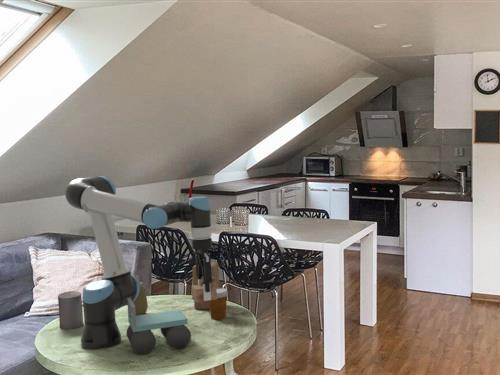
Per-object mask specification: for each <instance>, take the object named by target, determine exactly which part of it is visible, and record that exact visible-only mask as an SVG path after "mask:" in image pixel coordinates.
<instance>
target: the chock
mask: <svg viewBox="0 0 500 375" xmlns="http://www.w3.org/2000/svg"><path fill="white" fill-rule="evenodd" d="M201 280H202V282H203V277H201ZM210 288H211V300H217V291H216V278H214V277H213V276H212V282H211V283H210ZM191 298H192V300H193V302H194V301H195V302H203V301H204V298H203V284H201V285H193V284H192V285H191ZM207 301H210V300H207Z"/></svg>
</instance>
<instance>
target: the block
mask: <svg viewBox="0 0 500 375" xmlns="http://www.w3.org/2000/svg"><path fill="white" fill-rule="evenodd" d="M219 270H220V269H219V263H218V262H217V261H211V274H212V276H213V277H214V278H216V288H220V275H219V274H220V272H219ZM192 283H193V284H192V286H193V285H198V278H197V276H196V264H195V265H193V266H192ZM193 308H194V310H195V309H196V310H209V304H208V301H203V302H195V301H194V300H193Z"/></svg>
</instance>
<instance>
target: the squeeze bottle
mask: <svg viewBox="0 0 500 375" xmlns="http://www.w3.org/2000/svg"><path fill="white" fill-rule="evenodd" d="M139 276H140V275H138V274H135V276H134V277H135V278H136V279H137V280H138V282H139V285H140V291H139V295H138V297H137V298H136V300H135V301H133V304H134V305H135V311H136V316H137V315H144V314H147V311H148V308H149V306H148V305H149V304H148V299H147V298H148V297H147V293H146V288H145V287H144V283H143V282H141V280H140V277H139ZM131 310H132V309H131Z"/></svg>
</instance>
